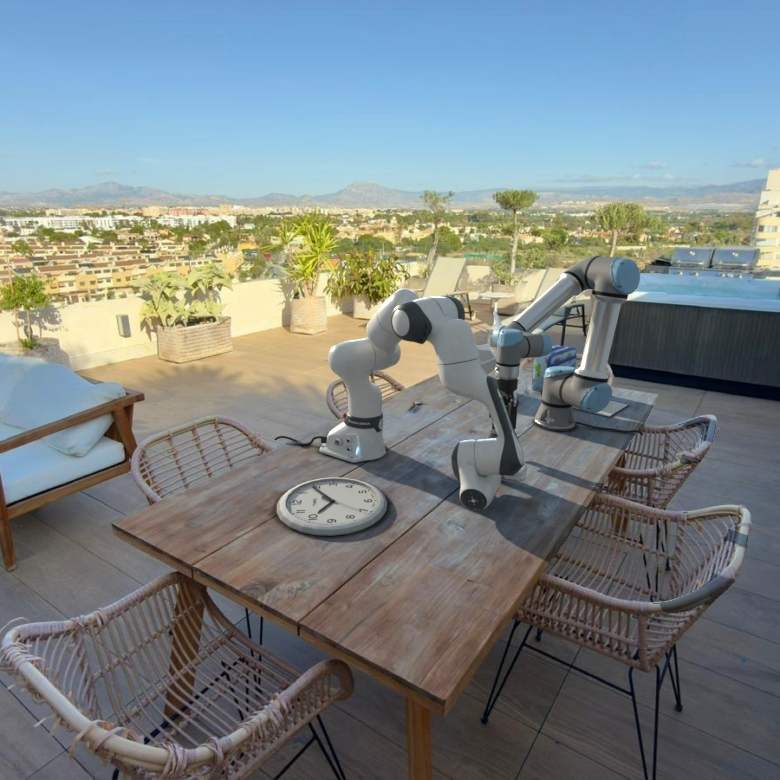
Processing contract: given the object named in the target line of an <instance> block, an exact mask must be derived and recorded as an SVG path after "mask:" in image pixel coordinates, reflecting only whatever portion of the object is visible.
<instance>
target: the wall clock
mask: <svg viewBox="0 0 780 780" xmlns="http://www.w3.org/2000/svg"><path fill="white" fill-rule="evenodd" d="M387 509H388V500H387V498H386V496H385V494H384V493H383V492H382V491H381V490H380V489H379V488H377V487H376V486H374V485H372V484H371V483H369V482H365V481H362V480H359V479H355V478H349V477H338V476H337V477H335V476H333V477H332V476H331V477H322V478H317V479H312V480H307V481H305V482H302V483H299V484H297V485H295V486H293V487H292V488H290V489H288V490H287V491H286V492H285V493H284V494H283V495H281V496H280V498H279V499H278V502H277V503H276V515H277V517H278V518H279V520H280V521H281V522H282V523H283V524H285V525H286V526H287V527H288V528H290V529H293V530H295V531H297V532H299V533H303V534H308V535H312V536H327V537H328V536H329V537H331V536H332V537H333V536H342V535H350V534H352V533H356V532H361V531H363V530H366V529H368V528H369V527H372V526H373V525H375V524H376V523H378V522H379V521H380V520H381V519H382V518H383V517H384V516H385V514H386V512H387Z"/></svg>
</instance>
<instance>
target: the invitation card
mask: <svg viewBox="0 0 780 780" xmlns="http://www.w3.org/2000/svg"><path fill="white" fill-rule="evenodd" d="M628 406H629V404H627V403H623V402H618V401H614V400H610V402H609V403H608V405H607V406H606V407H605V408H604V409H603V410H601V411H600V412H597V413H595V414H596V415H600V416H604V417H608V418H609V417H611V416H613V415H614V414H616V413H617V412H619V411H621V410H623V409H624V408H626V407H628ZM573 409H575V410H581V409H579V408H576V407H574V406H573ZM581 411H582V410H581Z"/></svg>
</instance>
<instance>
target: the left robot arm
mask: <svg viewBox="0 0 780 780" xmlns="http://www.w3.org/2000/svg"><path fill="white" fill-rule="evenodd" d="M465 319H466V311H465V307H464V305H463V303H462V301H461V300H460V299H458V298H457V297H455V296H451V295H438V296H426V297H422V298H420V296H419V294H417V293H416V292H415V291H414V290H412V289H410V288H399V289H397V290H395V291H394V292H393V293H391V294H390V295H389V296H388V297H387V298H386V299H385V300H384V301H383V302H382V303H381V305H380V306H379V307H378V308H377V310H376V311H375V313H374V314H373V315H372V316H371V318H370V319H369V321H368V322H367V324H366V331H365V332H366V337H363V338H358V339H351V340H345V341H341V342H339V343H337V344H335V345H332V346H331V348H330V349H329V351H328V354H327V363H328V366H329V368H330V371H332V372H333V374H334V375H336V376H338V377H339V378H340V379H341V380H342V382H343V383H344V385H345V388H346V392H347V406H348V408H347V409H346V411H344V412H343V414H342V415H341V420H342V419H343V421H341V422H340V423H339V424H337V425H335V426H334V427H333V428H332V429H331V430H329V431H325V432H324V433H323V434H321V435H317V436H314V437H312V439H311V440H310V441H309V442H307V443H301V442H300V440H298V439H295V438H292V437H289V436H286V435H279V436H277V437H275V438H274V439H273V441H278V440H279V439H286V440H289V441H292V442H295V443H296V444H297V445H298V446H302V447H306V446H309V445H312V444H313V443H314V441H316V440H317V439H320V443H321V445H320V447H319V453H322V454H324V455H328V456H330V457H334V458H336V459H340V460H343V461H347V462H350V463H355V464H356V463H359V462H365V461H374V460H377V459H380V458H382V457H384V456H385V455H386V453H387V449H386V446H385V441H384V436H383V435H384V434H383V429H384V412H383V411H382V410H383V392H382V390H381V388H380V387H379V386H378V385H377V383H374V382H371V380H370V373H373V372H379V371H384V370H387V369H389V368H391V367H393V366H396V365H397V364H398V363H399V361H400V359H401V355H402V351H401V350H402V349H401V346H400V342H401V341H405V342H409V343H410V342H411V343H416V344H420V345H423V344H425V343H426V342H429V343H430V344H431V346H433V349H434V352H435V359H436V365H437V373H438V377H439V379H440V382H441V385H443V387H444V388H445V389H446V390H447V391H449V392H450V393H452V394H453V395H454V394H455V395H456V396H460V397H462V398H463V397H464V398H466V399H471V400H474V401H477V402H478V403H481V404H482V405H484V406H485V408H486V409H487V410H488V413H489V412H490V415H491V417H490V419H492V420H491V422H492V421H493V424H494V427H495V429H496V432H497V435H498V437H497V438H488V437H487V438H472V439H461V440H460V441H458V442H457V443H456V445H455V447H454V448H453V451H452V453H451V459H450V460H451V469H452V471H453V472H452V473H453V475H454V477H455V478H456V480H457V481H458V482H459V483H460V485H459V486H460V487H459V493H458V494H459V495H458V496H459V501H460V503H461V504H462V506H463V507H464V508H466V509H468V510H470V511H474V512H475V511H476V512H479V511H484V510H485V509H487V508H488V507H489V506H490V505H491V503H492V502H493V500H494V499H495V496H496V494H497V492H498V491H497V490H498V489H499V487H500V485H501V483H502V481H503V482H509V483H513V484H519V483H521V482H524V481H525V480H526V476H527V472H528V464H527V463H525V453H524V450H523V446H522V445H521V442H520V439H519V437H518V436H517V433H516V429H514V427H513V425H512V422H511V419H510V416H509V413H508V410H507V407H506V404H505V401H504V399H503V396H502V393H501V391H500V388H499V386H498V384H497V382H496V380H495V377H493V376H490V375H489V374H486V372H485V371H484V370H483V368H482V366H481V363H480V360H479V354H478V349H477V346H478V345H477V342H476V338H475V334H474V332H473V329H472V327H471V325H470V323H469V322H468V321H467V320H465Z"/></svg>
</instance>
